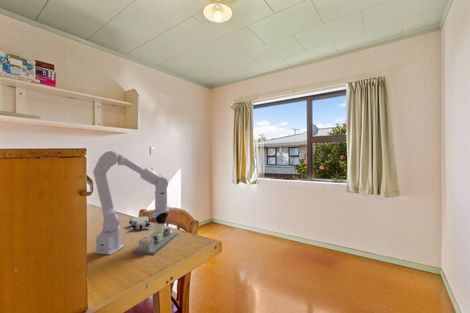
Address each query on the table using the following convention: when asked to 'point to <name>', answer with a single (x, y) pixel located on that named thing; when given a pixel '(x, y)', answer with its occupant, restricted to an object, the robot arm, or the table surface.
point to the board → (158, 245)
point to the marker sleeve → (158, 232)
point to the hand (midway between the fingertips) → (161, 228)
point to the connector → (146, 244)
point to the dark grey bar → (163, 234)
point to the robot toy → (140, 222)
